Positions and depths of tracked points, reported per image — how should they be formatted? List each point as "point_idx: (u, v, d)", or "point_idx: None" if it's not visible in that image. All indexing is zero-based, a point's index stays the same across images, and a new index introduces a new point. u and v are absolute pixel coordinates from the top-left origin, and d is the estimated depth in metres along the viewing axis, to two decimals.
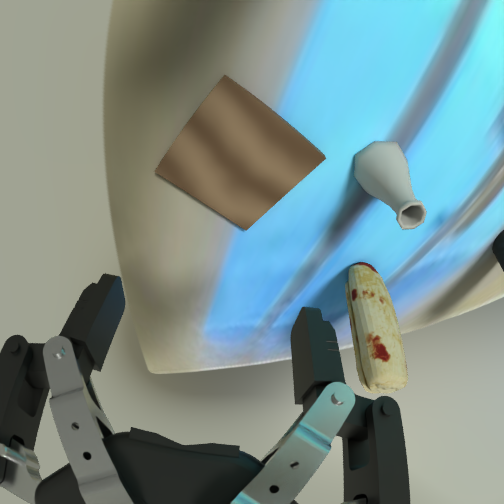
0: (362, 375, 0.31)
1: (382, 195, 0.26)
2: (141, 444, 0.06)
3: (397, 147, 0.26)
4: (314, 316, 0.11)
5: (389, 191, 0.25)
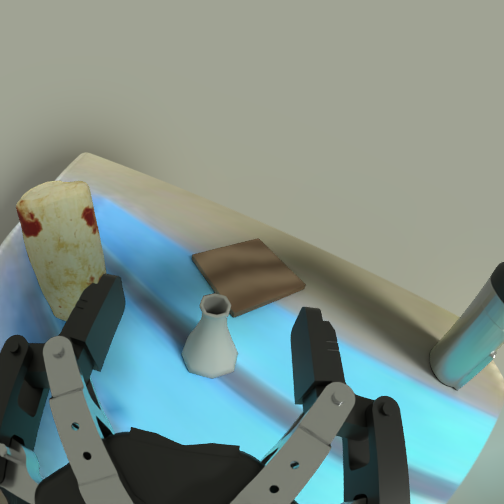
0: None
1: None
2: (141, 444, 0.06)
3: (232, 365, 0.32)
4: (314, 316, 0.11)
5: None
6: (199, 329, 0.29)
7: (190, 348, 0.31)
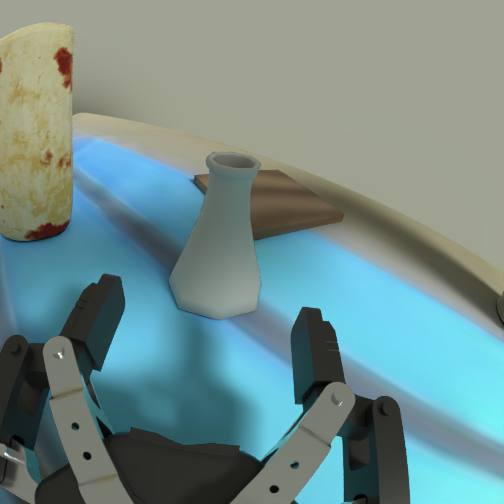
0: None
1: None
2: (141, 444, 0.06)
3: (254, 297, 0.19)
4: (314, 316, 0.11)
5: None
6: (200, 216, 0.17)
7: (182, 263, 0.19)
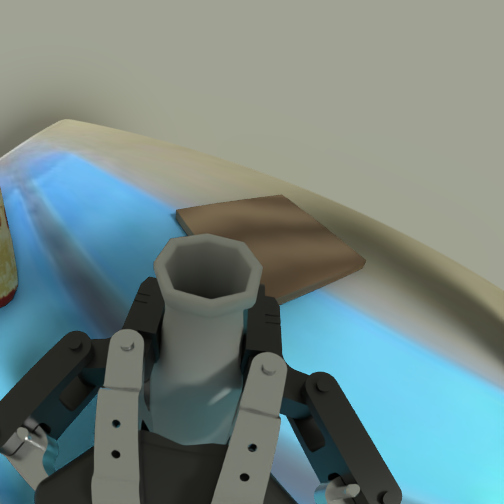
0: None
1: None
2: (141, 444, 0.06)
3: None
4: None
5: None
6: (161, 345, 0.10)
7: None
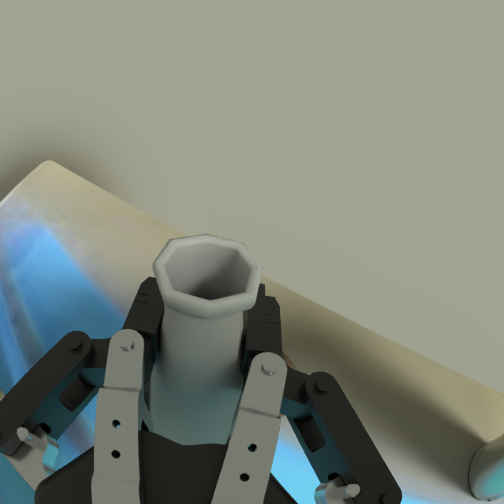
0: None
1: None
2: (141, 444, 0.06)
3: None
4: None
5: None
6: (161, 346, 0.10)
7: None
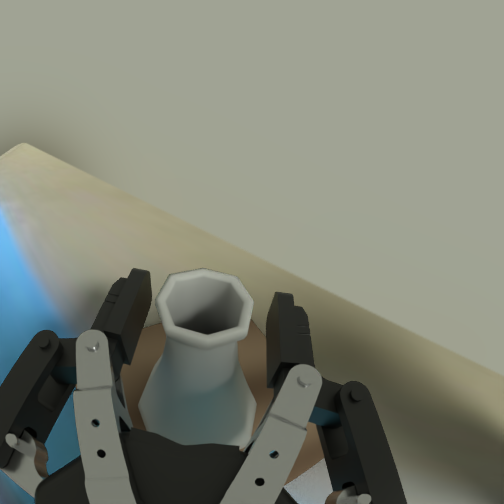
0: None
1: None
2: (141, 444, 0.06)
3: (247, 436, 0.13)
4: (285, 300, 0.11)
5: None
6: (163, 365, 0.10)
7: (150, 403, 0.12)
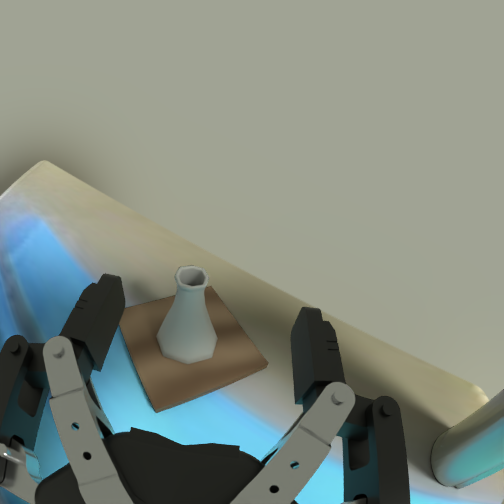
0: None
1: None
2: (141, 444, 0.06)
3: (210, 350, 0.29)
4: (314, 316, 0.11)
5: None
6: (174, 305, 0.27)
7: (164, 329, 0.28)
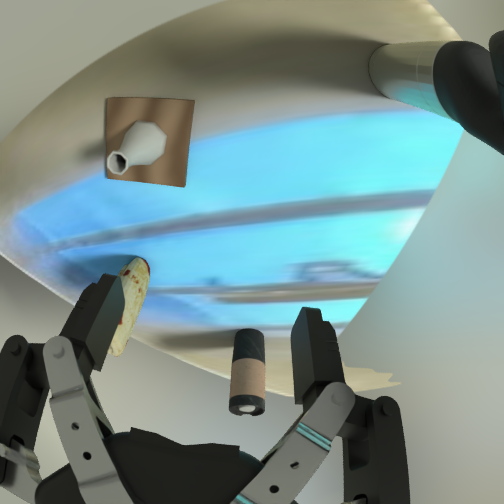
0: None
1: None
2: (141, 444, 0.06)
3: (162, 137, 0.36)
4: (314, 316, 0.11)
5: (123, 145, 0.32)
6: None
7: None
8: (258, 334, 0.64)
